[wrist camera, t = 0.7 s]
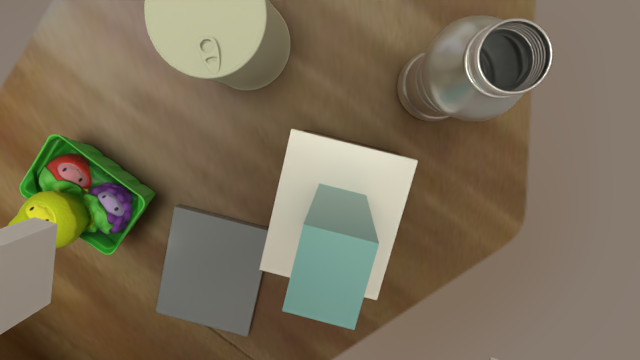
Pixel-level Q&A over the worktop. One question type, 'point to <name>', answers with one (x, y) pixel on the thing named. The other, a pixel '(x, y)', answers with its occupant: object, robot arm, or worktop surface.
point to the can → (220, 39)
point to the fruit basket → (82, 194)
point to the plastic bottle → (475, 69)
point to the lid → (335, 224)
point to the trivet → (212, 270)
